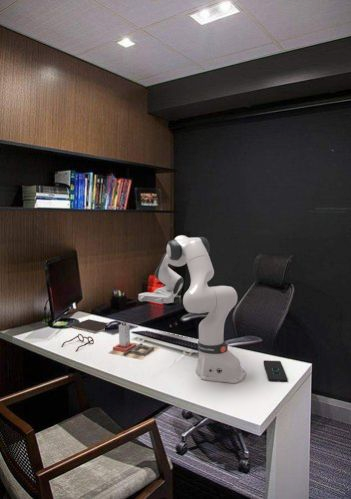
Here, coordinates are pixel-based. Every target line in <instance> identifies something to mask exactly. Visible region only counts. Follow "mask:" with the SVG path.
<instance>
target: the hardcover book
mask: <svg viewBox="0 0 351 499" xmlns="http://www.w3.org/2000/svg"><path fill="white" fill-rule="evenodd" d="M107 323H108V322H104V321H99V320H95V319H89V318H88V319H86V320H81V321H79V322H76V323H73V324H71V325H70V326H71V328H72V327H73V328H72V329H75V328H77V329H76V330H80V331H84V332H89V333H92V334H97V333H101V332H103V331H106V330H105V326H106V324H107Z"/></svg>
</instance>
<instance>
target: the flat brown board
mask: <svg viewBox="0 0 351 499" xmlns="http://www.w3.org/2000/svg"><path fill="white" fill-rule="evenodd" d="M130 343H132V344H136V346H135V347H133V348H132V349H130V350H128V351H127V352H121V351H116V350H113V349H112V350H110V351H108V352H107V354H111V355H116V356H120V357H125V358H131V359H136V360H141V361H142V360H144V359H145V358H147V357H148V356H150V355H151V354H153V353H154V352H155V351H157V350H159V349H160V348H161V347H160V346H153V345H147V344H143V343H135V342H131V341H130Z"/></svg>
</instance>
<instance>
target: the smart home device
mask: <svg viewBox="0 0 351 499" xmlns="http://www.w3.org/2000/svg"><path fill="white" fill-rule="evenodd" d="M263 366H264V370H265V374H266V376H267V381H268V382H272V383H273V382H275V383H288V380H289V378H288V376H287V373H286V372H285V369H284V366H283V364H282V361H280V360H266V359H265V360H263Z"/></svg>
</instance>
